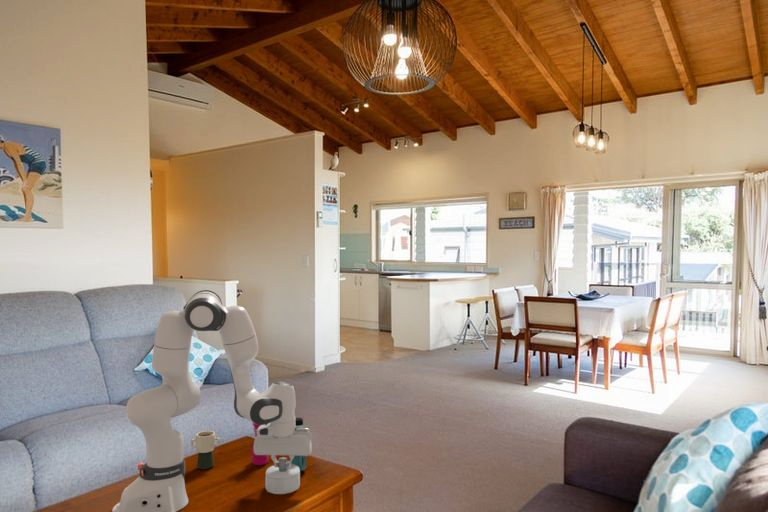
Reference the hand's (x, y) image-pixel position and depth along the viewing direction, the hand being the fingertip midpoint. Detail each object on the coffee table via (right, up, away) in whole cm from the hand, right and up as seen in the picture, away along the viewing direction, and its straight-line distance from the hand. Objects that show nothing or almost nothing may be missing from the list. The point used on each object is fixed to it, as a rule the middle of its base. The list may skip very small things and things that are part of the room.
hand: (282, 467), depth 183 cm
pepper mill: (-13, -7, +22) cm, 27 cm away
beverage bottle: (+3, -7, +13) cm, 15 cm away
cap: (0, -7, 0) cm, 7 cm away
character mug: (-33, -7, +17) cm, 38 cm away
